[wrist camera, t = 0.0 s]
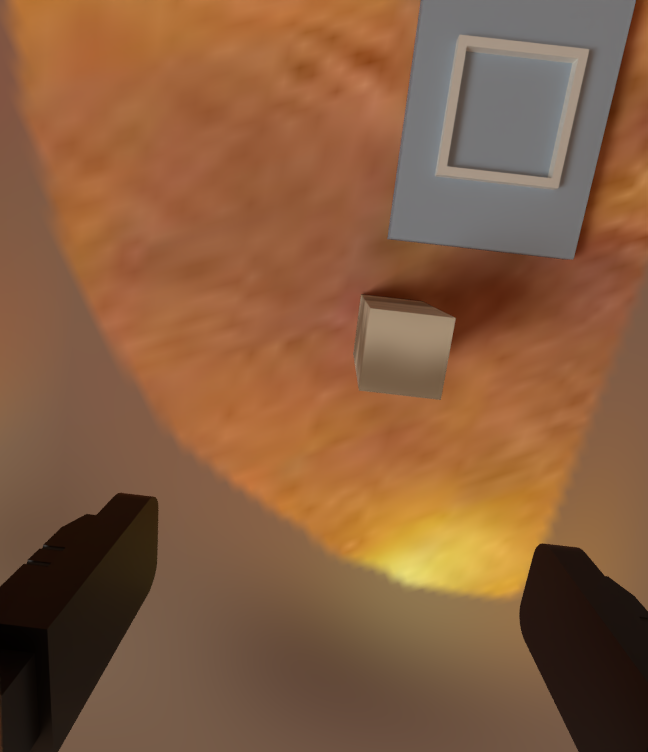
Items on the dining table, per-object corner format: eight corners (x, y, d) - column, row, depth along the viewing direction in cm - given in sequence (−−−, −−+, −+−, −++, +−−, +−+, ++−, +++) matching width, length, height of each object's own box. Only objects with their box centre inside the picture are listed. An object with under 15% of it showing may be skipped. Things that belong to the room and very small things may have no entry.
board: (425, -32, 31) (432, -54, 29) (627, -9, 31) (649, -29, 29) (387, 238, 36) (390, 237, 34) (564, 259, 36) (578, 259, 34)
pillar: (361, 294, 37) (370, 308, 26) (422, 301, 37) (455, 318, 26) (353, 354, 38) (359, 390, 28) (412, 360, 38) (440, 399, 28)
